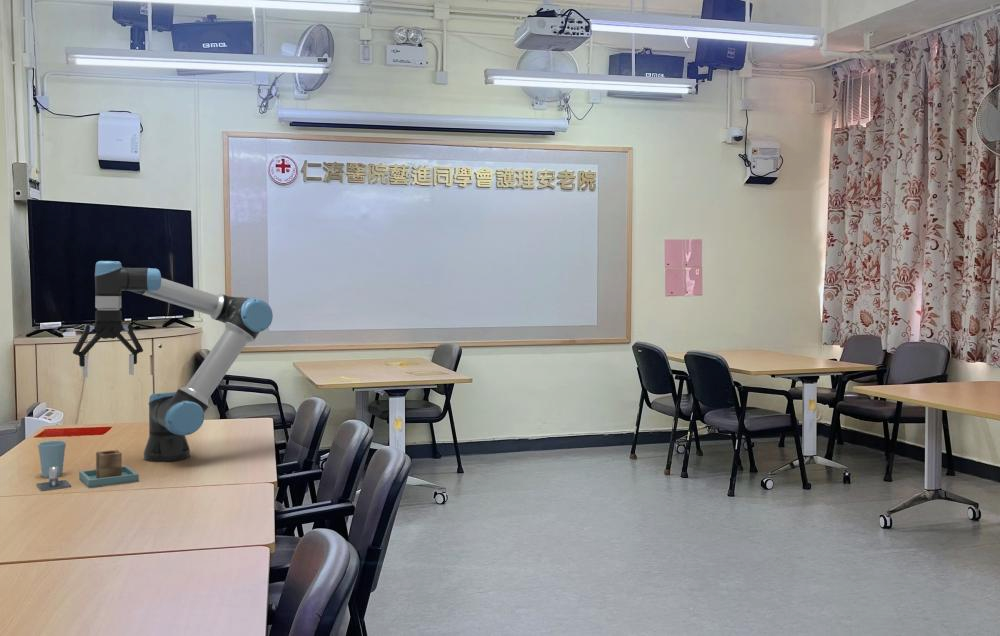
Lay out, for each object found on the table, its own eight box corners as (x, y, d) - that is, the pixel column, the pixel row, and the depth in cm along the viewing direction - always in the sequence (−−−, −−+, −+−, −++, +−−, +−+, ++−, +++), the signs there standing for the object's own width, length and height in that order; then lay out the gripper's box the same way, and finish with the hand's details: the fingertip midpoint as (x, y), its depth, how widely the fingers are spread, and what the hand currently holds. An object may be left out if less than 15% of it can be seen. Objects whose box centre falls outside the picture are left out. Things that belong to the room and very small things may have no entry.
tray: (127, 472, 260) (127, 465, 260) (138, 481, 249) (138, 474, 249) (79, 478, 251) (79, 471, 251) (88, 488, 240) (88, 480, 240)
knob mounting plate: (66, 481, 247) (66, 463, 247) (71, 487, 241) (71, 468, 241) (36, 485, 242) (36, 466, 242) (40, 491, 236) (40, 471, 236)
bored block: (116, 474, 254) (116, 449, 254) (121, 478, 250) (121, 453, 249) (96, 477, 251) (96, 452, 250) (100, 481, 246) (100, 455, 246)
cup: (65, 477, 253) (64, 444, 252) (37, 479, 250) (36, 446, 249) (67, 472, 260) (66, 440, 259) (39, 474, 256) (39, 441, 256)
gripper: (146, 308, 267) (146, 372, 268) (62, 309, 251) (62, 376, 252) (152, 309, 261) (153, 374, 262) (67, 310, 245) (67, 379, 246)
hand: (108, 375), depth 257 cm, fingers open, 13 cm apart
